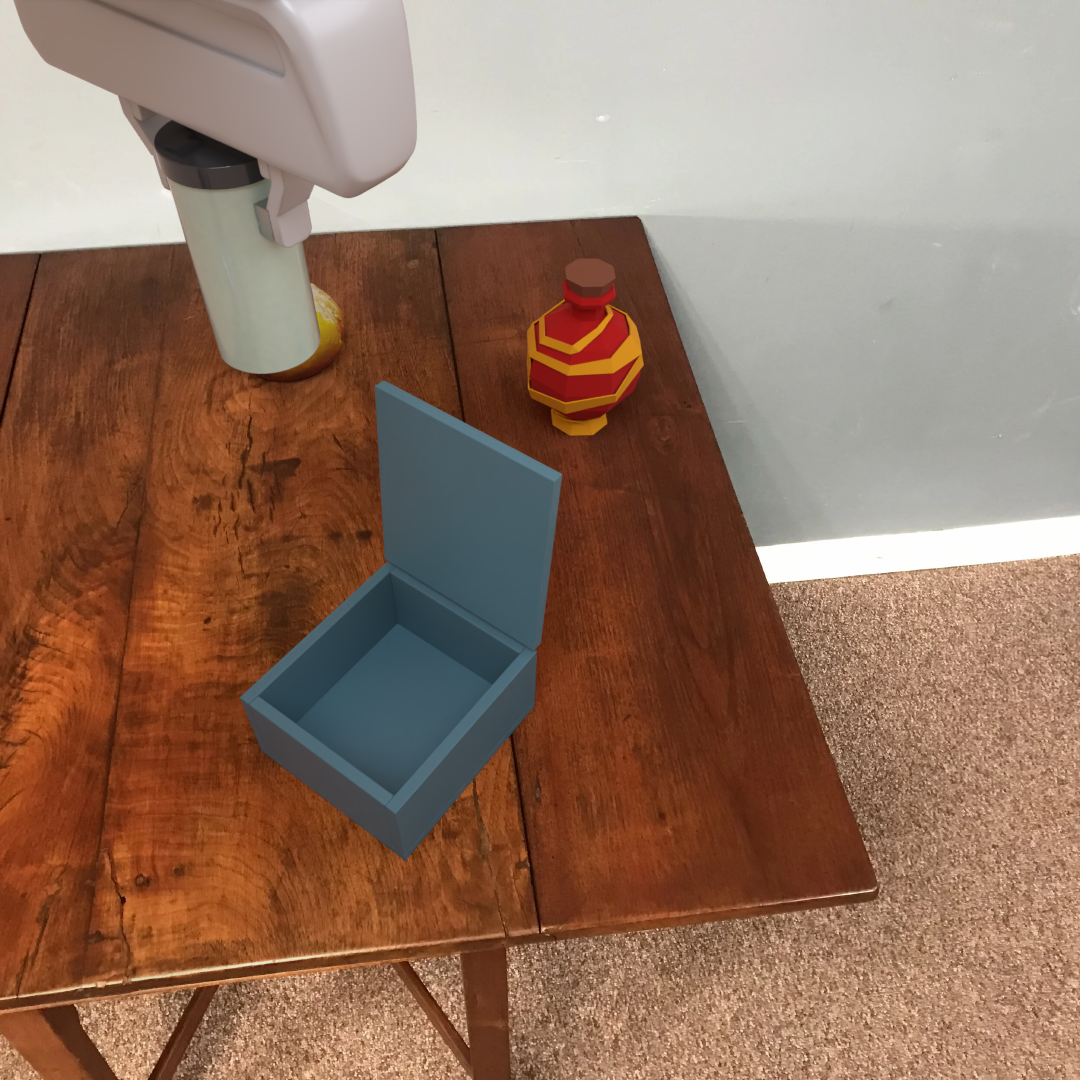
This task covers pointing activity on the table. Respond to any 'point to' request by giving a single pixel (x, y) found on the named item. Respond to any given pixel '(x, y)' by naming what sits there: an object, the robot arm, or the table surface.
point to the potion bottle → (583, 351)
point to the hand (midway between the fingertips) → (237, 213)
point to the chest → (393, 705)
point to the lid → (466, 513)
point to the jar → (238, 254)
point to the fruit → (329, 342)
